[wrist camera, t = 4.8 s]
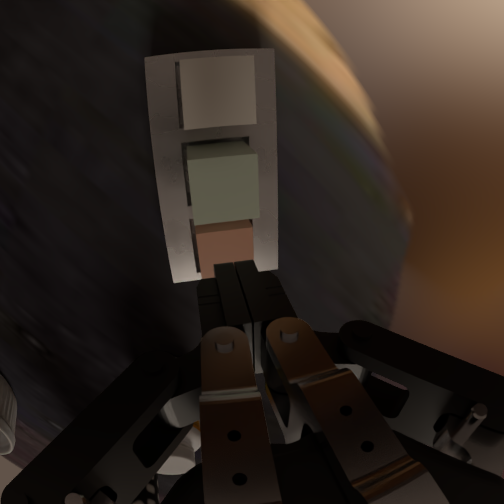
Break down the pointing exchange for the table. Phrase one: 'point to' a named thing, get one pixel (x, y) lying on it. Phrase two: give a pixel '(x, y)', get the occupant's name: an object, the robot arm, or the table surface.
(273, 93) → the keypad frame
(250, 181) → the key sage
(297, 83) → the table surface
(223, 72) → the key ivory
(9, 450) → the ramekin
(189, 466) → the supplement bottle
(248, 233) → the key terracotta
